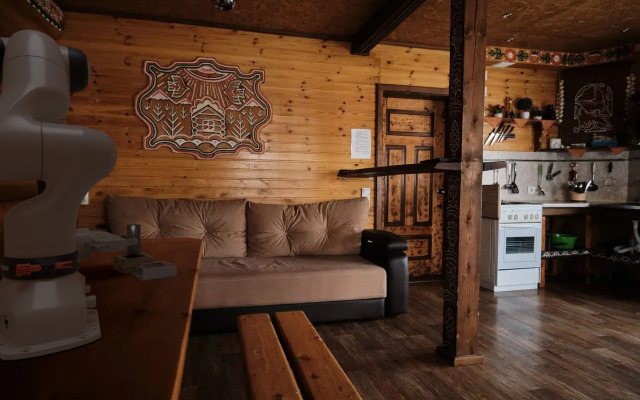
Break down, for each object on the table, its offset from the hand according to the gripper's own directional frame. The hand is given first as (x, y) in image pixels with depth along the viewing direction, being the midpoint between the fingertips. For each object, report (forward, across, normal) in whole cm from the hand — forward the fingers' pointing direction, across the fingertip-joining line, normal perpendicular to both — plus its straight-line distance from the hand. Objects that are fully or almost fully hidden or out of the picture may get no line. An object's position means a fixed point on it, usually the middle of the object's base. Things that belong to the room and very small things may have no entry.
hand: (132, 239), depth 122 cm
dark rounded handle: (0, 0, +10) cm, 10 cm away
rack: (0, 0, +10) cm, 10 cm away
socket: (+2, -12, +10) cm, 15 cm away
